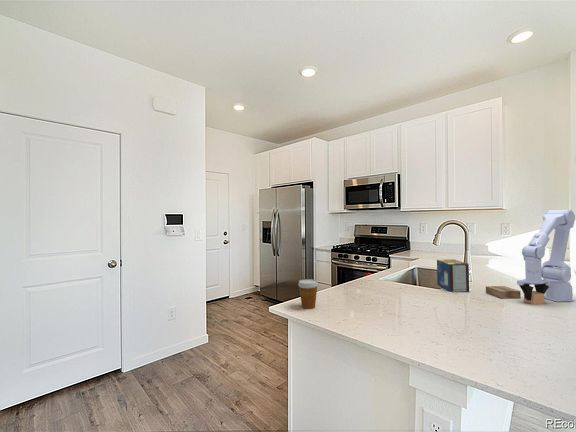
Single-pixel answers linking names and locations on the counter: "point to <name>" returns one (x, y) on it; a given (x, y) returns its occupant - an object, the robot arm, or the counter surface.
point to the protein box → (453, 275)
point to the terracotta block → (536, 298)
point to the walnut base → (503, 292)
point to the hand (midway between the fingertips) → (533, 299)
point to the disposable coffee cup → (308, 293)
